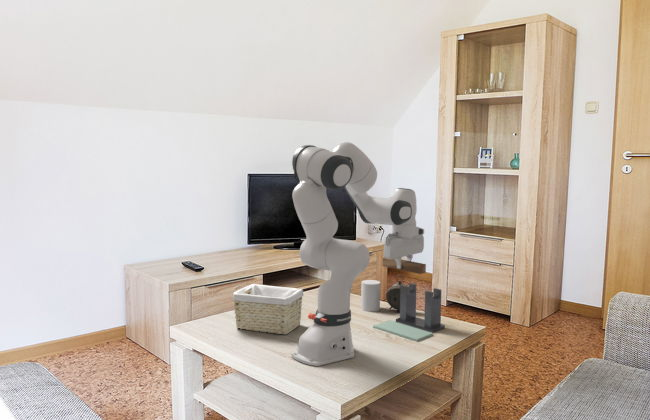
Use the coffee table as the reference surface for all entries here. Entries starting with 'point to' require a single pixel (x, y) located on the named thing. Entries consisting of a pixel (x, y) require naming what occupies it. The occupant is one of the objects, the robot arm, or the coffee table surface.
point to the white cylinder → (370, 295)
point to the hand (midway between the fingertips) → (403, 267)
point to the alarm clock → (394, 295)
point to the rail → (405, 265)
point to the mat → (403, 330)
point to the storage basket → (268, 308)
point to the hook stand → (431, 309)
